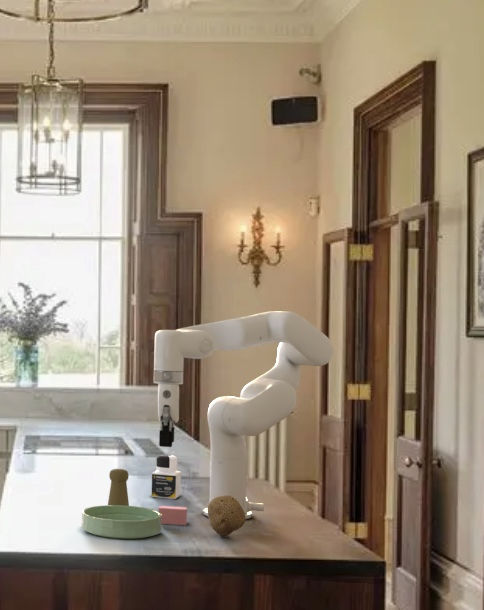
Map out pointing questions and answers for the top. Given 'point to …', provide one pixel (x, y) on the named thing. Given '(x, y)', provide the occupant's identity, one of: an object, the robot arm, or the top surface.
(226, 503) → the natural sponge
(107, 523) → the bowl
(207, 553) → the top surface
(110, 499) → the cork
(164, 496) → the medicine bottle
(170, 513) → the eraser
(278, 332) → the robot arm
